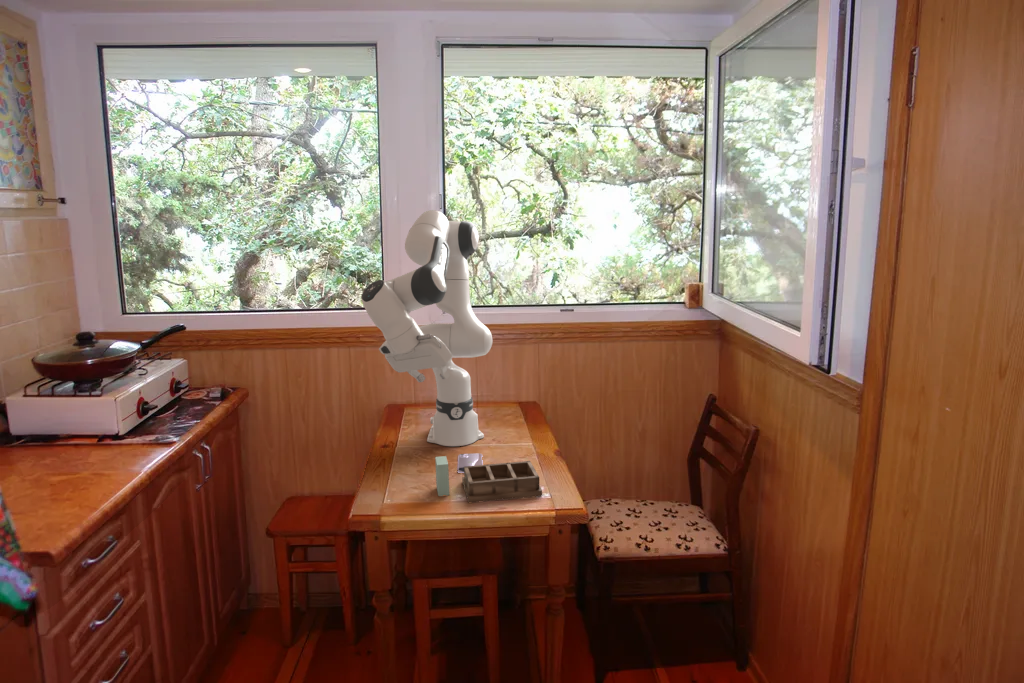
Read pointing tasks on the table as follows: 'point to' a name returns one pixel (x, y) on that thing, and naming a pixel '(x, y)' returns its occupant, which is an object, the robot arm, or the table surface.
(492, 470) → the walnut rack
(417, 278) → the robot arm
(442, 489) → the sage block
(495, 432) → the table surface
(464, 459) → the mobile phone
